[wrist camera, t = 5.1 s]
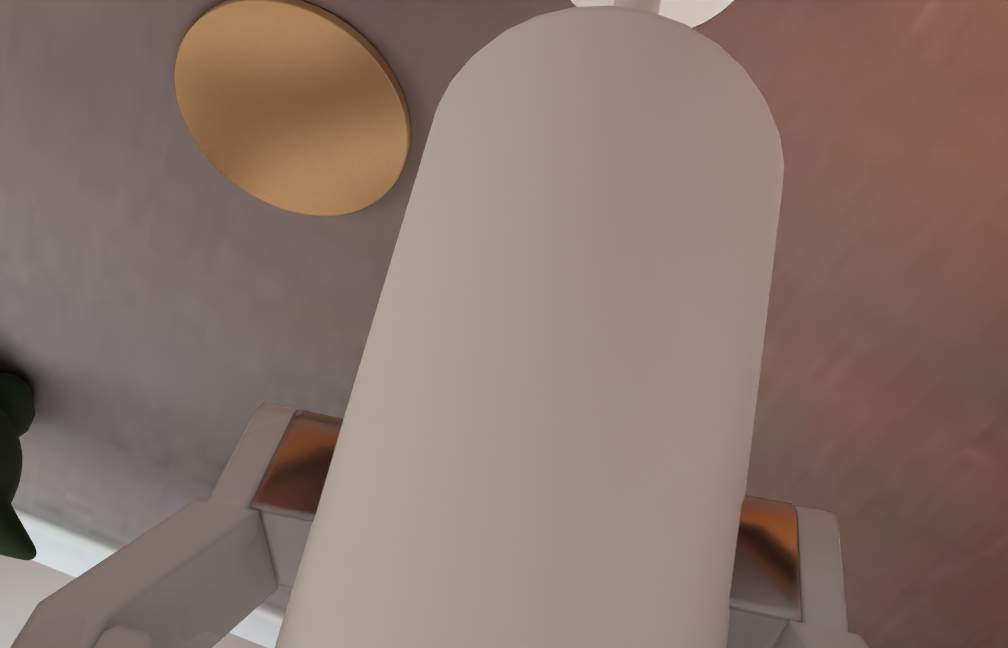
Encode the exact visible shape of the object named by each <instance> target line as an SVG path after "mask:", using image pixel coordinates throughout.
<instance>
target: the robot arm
mask: <svg viewBox="0 0 1008 648" xmlns="http://www.w3.org/2000/svg"><path fill="white" fill-rule="evenodd" d="M342 422H343V419H342V418H337V417H332V416H328V415H323V414H318V413H313V412H309V411H304V410H301V409H296V408H291V407H285V406H280V405H275V404H270V403H265V402H264V403H263V404H262V405H261V406H260V407H259V408H258V409H257V410H256V411H255V412H254V414H253V416H252V418H251V420H250V422H249V424H248V425H247V427H246V429H245V431H244V433H243V435H242V437H241V439H240V441H239V443H238V444H237V446H236V448H235V450H234V452H233V454H232V456H231V458H230V460H229V461H228V463H227V465H226V467H225V469H224V471H223V473H222V475H221V477H220V479H219V480H218V482H217V484H216V486H215V488H214V490H213V492H212V494H211V496H210V497H209V499H208V500H207V499H201V498H197V499H196V500H194V501H193V502H191V503H190V504H188V505H187V506H185V507H184V508H182V509H181V510H179V511H178V512H176V513H175V514H173V515H171V516H170V517H168V518H167V519H165V520H164V521H162V522H161V523H159V524H158V525H156V526H155V527H153V528H152V529H150V530H149V531H147V532H146V533H144V534H143V535H141V536H140V537H138V538H137V539H135V540H134V541H132V542H130V543H129V544H127V545H126V546H124V547H123V548H121V549H120V550H118V551H117V552H115V553H114V554H112V555H111V556H109V557H108V558H106V559H105V560H103V561H102V562H100V563H99V564H97V565H96V566H94V567H93V568H91V569H90V570H88V571H86V572H85V573H83V574H82V575H80V576H79V577H77V578H76V579H74V580H73V581H71V582H70V583H68V584H67V585H66V586H64V587H62V588H61V589H59V590H58V591H56V592H55V593H53V594H52V595H50V596H49V597H47V598H45V599H44V600H43V601H41V602H39V603H38V605H37V606H36V608H35V609H34V611H33V613H32V614H31V616H30V618H29V619H28V621H27V622H26V624H25V625H24V627H23V629H22V630H21V632H20V633H19V635H18V636H17V638H16V640H15V641H14V643H13V644H12V646H11V648H212V647H213V646H214V645H215V644H216V643H217V642H218V641H219V640H221V639H222V638H223V637H224V636H225V635H226V634H227V633H228V632H230V631H231V630H232V629H233V628H234V627H235V626H236V625H237V624H239V623H240V622H241V621H242V620H243V619H244V618H245V617H246V616H248V615H249V614H250V613H251V612H252V611H253V610H254V609H255V608H257V607H258V606H259V605H260V604H261V603H262V602H263V601H264V600H266V599H267V598H268V597H269V596H270V595H271V594H272V593H273V592H274V591H276V590H277V589H278V586H277V584H278V585H283V586H288V587H293V586H294V582H295V579H296V576H297V572H298V569H299V566H300V562H301V559H302V556H303V552H304V549H305V546H306V542H307V539H308V536H309V532H310V529H311V526H312V522H313V521H314V518H315V515H316V512H317V508H318V505H319V501H320V498H321V495H322V491H323V488H324V484H325V481H326V478H327V474H328V471H329V467H330V464H331V461H332V457H333V454H334V450H335V447H336V444H337V440H338V437H339V433H340V430H341V426H342ZM729 609H730V621H729V631H728V640H727V648H869V647H868V646H867V644H866V643H865V641H864V640H863V638H862V637H861V636H860V635H858V634H854V633H850V632H848V624H847V613H846V602H845V591H844V579H843V568H842V557H841V546H840V535H839V524H838V520H837V518H836V516H835V514H834V513H832V512H829V511H823V510H817V509H812V508H806V507H800V506H794V505H792V504H791V503H785V502H780V501H774V500H768V499H763V498H757V497H752V496H746V495H745V496H744V500H743V502H742V506H741V514H740V521H739V528H738V536H737V543H736V551H735V559H734V566H733V574H732V582H731V589H730V597H729Z"/></svg>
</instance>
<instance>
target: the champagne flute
mask: <svg viewBox="0 0 1008 648" xmlns="http://www.w3.org/2000/svg"><path fill="white" fill-rule="evenodd" d="M733 1H734V0H571V2H572V3H573V4H575V5H576V6H577V7H571V8H567V9H563V10H559V11H555V12H550V13H546V14H542V15H538V16H536V17H533V18H531V19H529V20H527V21H525V22H523V23H520V24H518V25H516V26H514V27H512V28H510V29H508V30H506V31H504V32H503V33H502V34H500V35H499V36H498V37H496V38H495V39H494V40H492V41H491V42H490V43H488V44H487V45H486V46H484V47H483V48H482V49H480V50H479V51H478V52H477V53H476V54H475V55H473V56H472V57H471V58H470V59H469V61H468V62H467V63H466V64H465V65H464V67H463V68H462V69H461V70H460V71H459V72H458V74H457V75H456V76H455V77H454V78H453V79H452V81H451V82H450V84H449V86H448V88H447V90H446V92H445V94H444V96H443V97H442V99H441V101H440V103H439V105H438V107H437V109H436V113H435V116H434V119H433V123H432V126H431V129H430V133H429V136H428V139H427V143H426V146H425V149H424V153H423V156H422V159H421V163H420V166H419V169H418V173H417V176H416V179H415V183H414V186H413V189H412V193H411V196H410V199H409V203H408V206H407V209H406V213H405V216H404V219H403V223H402V226H401V229H400V233H399V236H398V239H397V243H396V246H395V249H394V253H393V256H392V259H391V263H390V266H389V269H388V273H387V276H386V279H385V283H384V286H383V289H382V293H381V296H380V299H379V303H378V306H377V309H376V313H375V316H374V319H373V322H372V326H371V329H370V332H369V336H368V339H367V342H366V346H365V349H364V352H363V356H362V359H361V362H360V366H359V369H358V372H357V376H356V379H355V382H354V386H353V389H352V392H351V396H350V399H349V402H348V406H347V409H346V412H345V416H344V419H343V422H342V426H341V430H340V433H339V437H338V440H337V444H336V447H335V450H334V454H333V457H332V461H331V464H330V467H329V471H328V474H327V478H326V481H325V484H324V488H323V491H322V495H321V498H320V501H319V505H318V508H317V512H316V515H315V518H314V521H313V522H312V526H311V529H310V532H309V536H308V539H307V542H306V546H305V549H304V552H303V556H302V559H301V562H300V566H299V569H298V572H297V576H296V579H295V582H294V586H293V589H292V592H291V596H290V599H289V602H288V606H287V609H286V612H285V616H284V619H283V622H282V626H281V629H280V632H279V636H278V639H277V642H276V645H275V648H727V640H728V631H729V621H730V609H729V597H730V589H731V582H732V574H733V566H734V559H735V551H736V543H737V536H738V528H739V521H740V514H741V506H742V502H743V500H744V496H745V492H746V484H747V475H748V467H749V459H750V451H751V442H752V434H753V426H754V418H755V409H756V401H757V393H758V385H759V376H760V368H761V360H762V352H763V344H764V335H765V327H766V319H767V311H768V302H769V294H770V286H771V278H772V269H773V261H774V253H775V245H776V236H777V228H778V220H779V212H780V203H781V195H782V185H783V176H784V161H783V154H782V147H781V140H780V135H779V132H778V130H777V127H776V125H775V122H774V120H773V117H772V115H771V112H770V110H769V107H768V105H767V103H766V101H765V99H764V97H763V95H762V94H761V92H760V91H759V89H758V88H757V86H756V85H755V83H754V82H753V81H752V79H751V78H750V76H749V75H748V73H747V72H746V71H745V69H744V68H743V67H742V66H741V65H740V64H739V63H738V62H737V61H736V60H735V59H734V58H733V57H731V56H730V55H729V54H728V53H727V52H726V51H725V50H724V49H723V48H722V47H721V46H720V45H718V44H717V43H716V42H714V41H712V40H711V39H709V38H707V37H706V36H704V35H702V34H701V33H699V32H697V31H696V30H694V29H692V27H695V26H697V25H700V24H702V23H704V22H706V21H708V20H709V19H711V18H712V17H714V16H715V15H717V14H718V13H720V12H721V11H723V10H724V9H725V8H726V7H727V6H728V5H729V4H730V3H731V2H733Z"/></svg>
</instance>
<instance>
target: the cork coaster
mask: <svg viewBox="0 0 1008 648" xmlns="http://www.w3.org/2000/svg"><path fill="white" fill-rule="evenodd" d="M174 83H175V91H176V97H177V101H178V105H179V109H180V112H181V114H182V117H183V119H184V122H185V124H186V126H187V128H188V130H189V132H190V134H191V136H192V137H193V139H194V140H195V142H196V143H197V145H198V146H199V148H200V149H201V151H202V152H203V153H204V154H205V155H206V157H207V158H208V159H209V160H210V161H211V163H212V164H213V165H214V166H215V167H216V168H217V169H218V170H219V171H220V172H221V173H223V174H224V175H225V176H226V177H227V178H228V179H230V180H231V181H232V182H233V183H235V184H236V185H237V186H239V187H240V188H242V189H243V190H244V191H246V192H248V193H249V194H251V195H253V196H255V197H256V198H258V199H260V200H262V201H264V202H266V203H269V204H271V205H273V206H276V207H279V208H282V209H284V210H288V211H292V212H296V213H300V214H306V215H313V216H334V215H342V214H347V213H352V212H355V211H358V210H360V209H363V208H365V207H367V206H369V205H371V204H373V203H375V202H376V201H377V200H379V199H380V198H381V197H383V196H384V195H385V194H386V193H387V192H388V191H389V190H390V189H391V188H392V186H393V185H394V183H395V182H396V180H397V179H398V177H399V176H400V174H401V172H402V169H403V167H404V165H405V163H406V160H407V157H408V153H409V149H410V140H411V126H410V117H409V112H408V107H407V104H406V101H405V98H404V95H403V92H402V90H401V87H400V85H399V83H398V81H397V79H396V77H395V75H394V74H393V72H392V71H391V69H390V67H389V66H388V64H387V63H386V61H385V60H384V59H383V58H382V56H381V55H380V54H379V53H378V51H377V50H376V49H375V48H374V47H373V46H372V45H371V44H370V43H369V42H368V41H367V40H366V39H365V38H364V37H363V36H362V35H361V34H360V33H358V32H357V31H356V30H355V29H354V28H352V27H351V26H350V25H349V24H347V23H346V22H344V21H342V20H341V19H339V18H338V17H336V16H335V15H333V14H331V13H329V12H327V11H325V10H323V9H321V8H319V7H317V6H315V5H312V4H309V3H307V2H304V1H301V0H228V1H225V2H222V3H221V4H219V5H217V6H215V7H213V8H211V9H210V10H209V11H208V12H206V13H205V14H204V15H203V16H201V17H200V18H199V19H198V20H197V21H196V22H195V24H194V25H193V26H192V27H191V28H190V29H189V31H188V32H187V34H186V35H185V37H184V39H183V40H182V42H181V45H180V48H179V50H178V53H177V57H176V63H175V74H174Z"/></svg>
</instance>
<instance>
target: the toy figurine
mask: <svg viewBox="0 0 1008 648" xmlns="http://www.w3.org/2000/svg"><path fill="white" fill-rule="evenodd" d="M34 416H35V409H34V403H33V398H32V394H31V390H30V388H29V387H28V385H27V384H26V383H25V382H24V381H23V380H21V379H20V378H19V377H18V376H16V375H12V374H7V373H0V555H4V556H8V557H13V558H17V559H22V560H31V559H33V558H35V556H36V548H35V546H34V544H33V542H32V541H31V539H30V537H29V535H28V534H27V532H26V530H25V528H24V527H23V525H22V523H21V521H20V520H19V518H18V516H17V514H16V513H15V511H14V509H13V507H12V505H11V502H12V500H13V498H14V496H15V493H16V491H17V488H18V485H19V482H20V477H21V470H22V450H21V444H20V440H19V436H21V435H22V434H24V433H25V432H27V431H28V429H29V427H30V425H31V423H32V421H33V418H34Z"/></svg>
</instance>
